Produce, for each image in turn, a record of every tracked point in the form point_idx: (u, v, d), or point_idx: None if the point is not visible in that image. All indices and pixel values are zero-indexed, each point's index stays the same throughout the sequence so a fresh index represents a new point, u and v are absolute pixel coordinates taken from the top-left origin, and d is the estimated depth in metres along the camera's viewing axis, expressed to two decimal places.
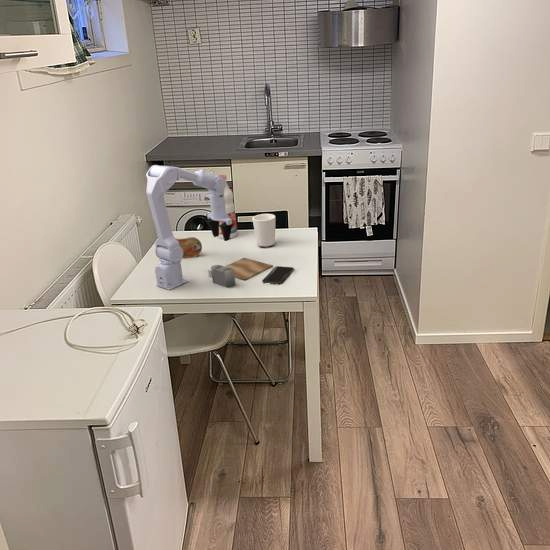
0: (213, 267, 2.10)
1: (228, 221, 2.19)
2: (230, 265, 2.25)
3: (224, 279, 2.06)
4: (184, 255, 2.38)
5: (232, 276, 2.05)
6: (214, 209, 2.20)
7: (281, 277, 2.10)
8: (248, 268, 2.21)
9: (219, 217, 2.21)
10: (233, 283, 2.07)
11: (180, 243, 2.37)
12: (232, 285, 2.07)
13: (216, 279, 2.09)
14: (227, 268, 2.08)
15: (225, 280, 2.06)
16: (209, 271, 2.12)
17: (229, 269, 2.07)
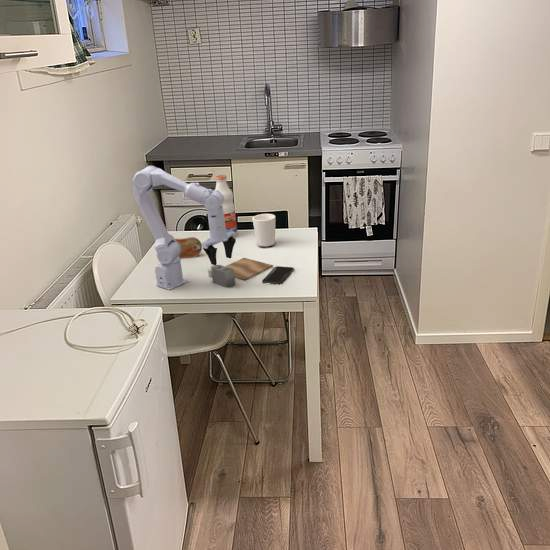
0: (213, 267, 2.10)
1: (202, 244, 1.99)
2: (230, 265, 2.25)
3: (224, 279, 2.06)
4: (184, 255, 2.38)
5: (232, 276, 2.05)
6: None
7: (281, 277, 2.10)
8: (248, 268, 2.21)
9: (210, 237, 2.02)
10: (233, 283, 2.07)
11: (180, 243, 2.37)
12: (232, 285, 2.07)
13: (216, 279, 2.09)
14: (227, 268, 2.08)
15: (225, 280, 2.06)
16: (209, 271, 2.12)
17: (229, 269, 2.07)
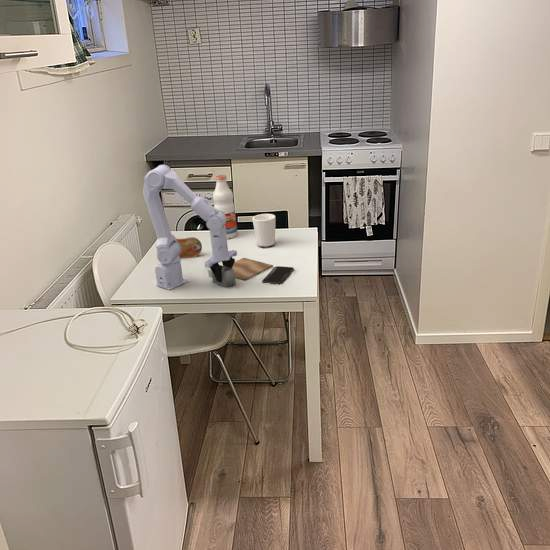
0: None
1: (205, 263, 2.02)
2: None
3: (224, 279, 2.06)
4: (184, 255, 2.38)
5: (232, 276, 2.05)
6: None
7: (281, 277, 2.10)
8: (248, 268, 2.21)
9: (213, 256, 2.05)
10: (233, 283, 2.07)
11: (180, 243, 2.37)
12: (232, 285, 2.06)
13: None
14: (227, 268, 2.08)
15: (225, 280, 2.06)
16: (209, 271, 2.12)
17: (229, 269, 2.07)
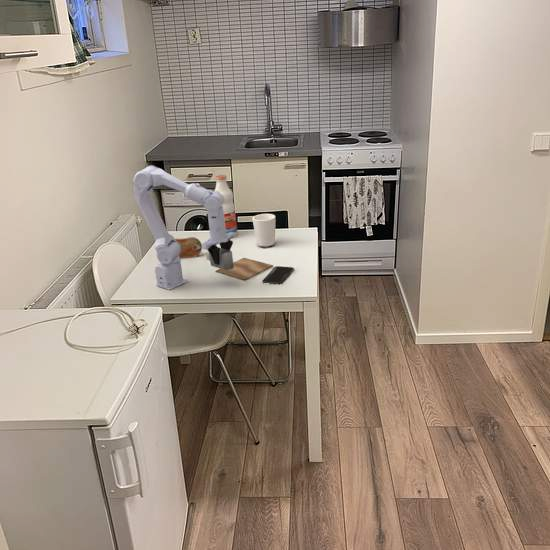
0: None
1: (202, 245, 1.99)
2: None
3: (222, 261, 2.03)
4: (184, 255, 2.38)
5: (230, 259, 2.03)
6: None
7: (281, 277, 2.10)
8: (248, 268, 2.21)
9: (210, 238, 2.02)
10: (231, 265, 2.04)
11: (180, 243, 2.37)
12: (230, 267, 2.04)
13: None
14: (225, 250, 2.05)
15: (223, 262, 2.03)
16: (207, 254, 2.09)
17: (227, 251, 2.04)
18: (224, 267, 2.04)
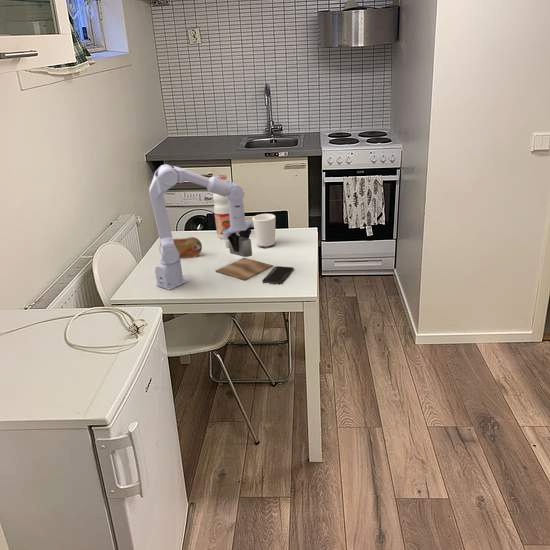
0: None
1: (223, 233, 2.10)
2: (230, 265, 2.25)
3: (241, 249, 2.14)
4: (184, 255, 2.38)
5: (249, 246, 2.13)
6: None
7: (281, 277, 2.10)
8: (248, 268, 2.21)
9: (230, 227, 2.13)
10: (250, 252, 2.14)
11: (180, 243, 2.37)
12: (249, 254, 2.14)
13: None
14: (244, 238, 2.16)
15: (242, 249, 2.14)
16: (226, 242, 2.20)
17: (246, 239, 2.14)
18: (243, 254, 2.14)
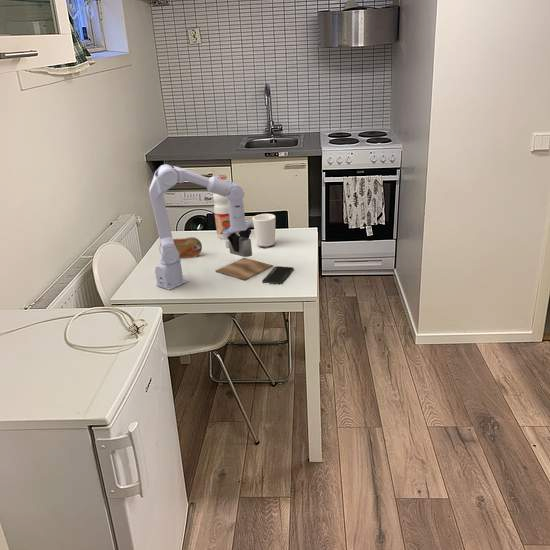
0: None
1: (223, 233, 2.10)
2: (230, 265, 2.25)
3: (241, 249, 2.14)
4: (184, 255, 2.38)
5: (249, 246, 2.13)
6: None
7: (281, 277, 2.10)
8: (248, 268, 2.21)
9: (230, 227, 2.13)
10: (250, 252, 2.14)
11: (180, 243, 2.37)
12: (249, 254, 2.14)
13: None
14: (244, 238, 2.16)
15: (242, 249, 2.14)
16: (226, 242, 2.20)
17: (246, 239, 2.14)
18: (243, 254, 2.14)
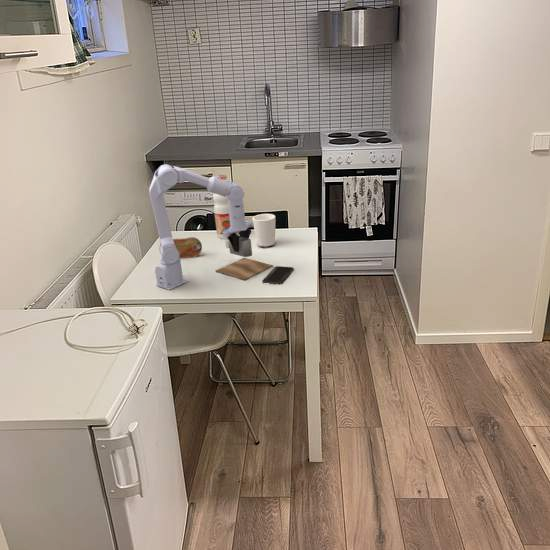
0: None
1: (223, 233, 2.10)
2: (230, 265, 2.25)
3: (241, 249, 2.14)
4: (184, 255, 2.38)
5: (249, 246, 2.13)
6: None
7: (281, 277, 2.10)
8: (248, 268, 2.21)
9: (230, 227, 2.13)
10: (250, 252, 2.14)
11: (180, 243, 2.37)
12: (249, 254, 2.14)
13: None
14: (244, 238, 2.16)
15: (242, 249, 2.14)
16: (226, 242, 2.20)
17: (246, 239, 2.14)
18: (243, 254, 2.14)
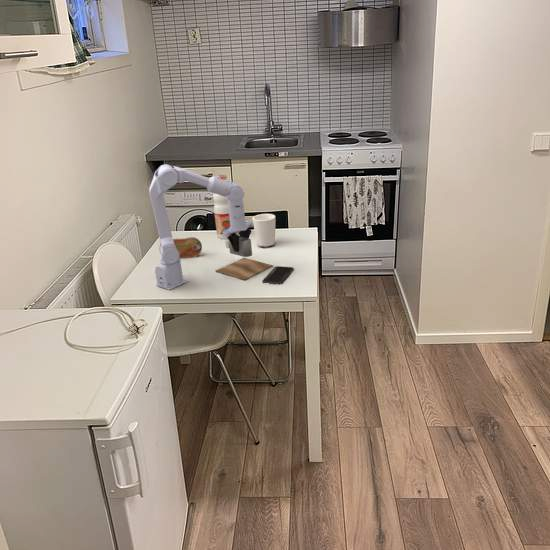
0: None
1: (223, 233, 2.10)
2: (230, 265, 2.25)
3: (241, 249, 2.14)
4: (184, 255, 2.38)
5: (249, 246, 2.13)
6: None
7: (281, 277, 2.10)
8: (248, 268, 2.21)
9: (230, 227, 2.13)
10: (250, 252, 2.14)
11: (180, 243, 2.37)
12: (249, 254, 2.14)
13: None
14: (244, 238, 2.16)
15: (242, 249, 2.14)
16: (226, 242, 2.20)
17: (246, 239, 2.14)
18: (243, 254, 2.14)
